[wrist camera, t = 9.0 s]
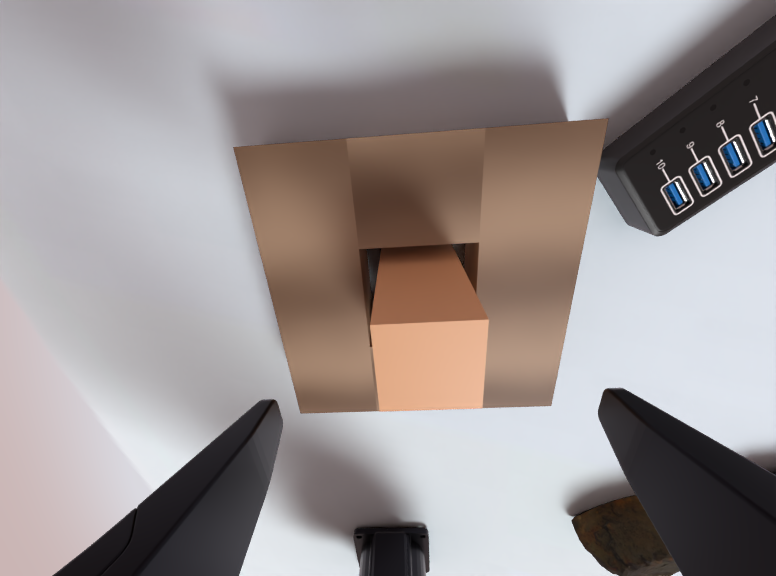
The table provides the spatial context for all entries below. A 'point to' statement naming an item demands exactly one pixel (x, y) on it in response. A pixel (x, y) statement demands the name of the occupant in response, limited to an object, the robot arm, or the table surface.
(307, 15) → the table surface
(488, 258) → the socket block
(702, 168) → the multiport hub
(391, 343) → the peg
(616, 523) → the brown long rough piece
